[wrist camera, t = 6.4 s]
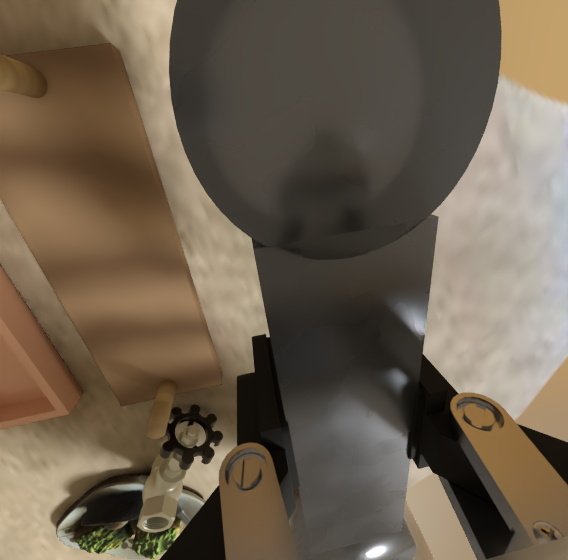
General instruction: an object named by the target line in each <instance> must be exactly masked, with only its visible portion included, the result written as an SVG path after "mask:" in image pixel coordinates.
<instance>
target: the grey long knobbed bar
mask: <svg viewBox="0 0 568 560" xmlns="http://www.w3.org/2000/svg"><path fill="white" fill-rule="evenodd" d="M500 60H501V21H500V7H499V1H498V0H177V3H176V7H175V10H174V17H173V24H172V31H171V38H170V58H169V76H170V88H171V99H172V105H173V110H174V115H175V120H176V125H177V129H178V132H179V135H180V138H181V141H182V144H183V147H184V150H185V153H186V155H187V157H188V160H189V162H190V164H191V166H192V168H193V171H194V173H195V175H196V176H197V178H198V180H199V181H200V183H201V185H202V186H203V188H204V190H205V191H206V193H207V194H208V196H209V197H210V198H211V199H212V201H213V202H214V203H215V205H216V206H217V207H218V208H219V210H220V211H221V212H222V213H223V214H224V215H225V216H226V217H227V218H228V219H229V220H230V221H231V222H232V223H233V224H234V225H235V226H237V227H238V228H239V229H241V230H242V231H243V232H244V233H246V234H247V235H248V236H250V237H251V238H252V243H253V249H254V254H255V260H256V265H257V270H258V275H259V281H260V286H261V291H262V297H263V302H264V307H265V313H266V318H267V323H268V328H269V334H270V339H271V344H272V350H273V355H274V360H275V366H276V371H277V376H278V381H279V387H280V392H281V397H282V403H283V408H284V413H285V419H286V422H287V421H288V424H289V430H290V435H291V440H292V446H293V451H294V457H295V462H296V468H297V473H298V479H299V484H300V487H296V488H293V489H294V495H295V504H296V508H295V510H294V512H293V513H292V515H291V517H290V519H289V524H290V528H291V531H292V535H293V539H294V543H295V546H296V550H297V554H298V558H299V560H412V559H413V557H414V555H415V553H416V544H415V542H414V539H413V537H412V535H411V533H410V531H409V528H408V526H407V524H406V522H405V519H404V517H403V515H404V507H405V498H406V490H407V481H408V473H409V464H410V459H408V454H409V445H410V436H411V427H412V418H413V409H414V400H415V392H418V387H419V379H420V370H421V362H422V353H423V344H424V336H425V327H426V319H427V310H428V302H429V293H430V285H431V276H432V268H433V259H434V250H435V242H436V233H437V225H438V217H437V216H435V215H432V213H433V212H434V211H435V210H436V208H437V207H438V206H439V205H440V204H441V203H442V202H443V201H444V200H445V198H446V197H447V196H448V195H449V194H450V192H451V191H452V190H453V189H454V187H455V186H456V184H457V183H458V181H459V180H460V178H461V177H462V175H463V174H464V172H465V171H466V169H467V167H468V165H469V163H470V161H471V160H472V158H473V156H474V154H475V152H476V150H477V148H478V145H479V143H480V141H481V138H482V136H483V134H484V131H485V129H486V125H487V122H488V119H489V116H490V113H491V110H492V106H493V102H494V97H495V93H496V88H497V84H498V76H499V68H500Z"/></svg>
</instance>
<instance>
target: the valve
mask: <svg viewBox="0 0 568 560" xmlns="http://www.w3.org/2000/svg"><path fill="white" fill-rule="evenodd" d="M199 412H200V407H199V406H198V405H192V406H191V407H190V409H189V412H188V413H186V414H184V413H182V410H181V409H180V408H179V407H174V408H172V410H171V413H170V417H169V420H171V419H172V418H173V420H174V421H173V422H172V423H170V424H169V423H168V425H167V429H166V433H165V435H167V436H168V441H167V442H165V443H164V444H163V446H162V448H161V450H160V453H158V454H157V456H156V458H155V460H154V462H153V466H152V470H151V473H150V475H149V477H148V479H147V480H146V482H145V485H144V488H143V493H142V499H143V504H144V505H143V507H142V509H141V512H140V516H139V520H138V524H137V527H139V528H140V529H141V530H143V531H146V532H161V531H164V530H166V529H168V528H170V527H171V526H172V524H173V522H174V520H175V516H176V510H177V504H178V500H179V498H180V496H181V493H182V488H183V478H184V477H185V474H186V471H187V469H189V468H190V466H191V464H192V463H193V461H194V457H195V456H202V458H203V459H202V461H201V462H202V463H204V464H208V463H210V462H211V460H212V458H213V456H214V450H213V449H212V448H211V447H210V446H209V445H210V443H212V442H213V443H215V444H214V446H218V445H219V444H220V442H221V440H222V438H223V434H222V433H221V432H220V431H215V432H214V431H213V430H212V427H213V426H214V424H215V422H216V420H217V417H216V416H215V415H214V414H209V415H208V416H207V417H202V416H201V415H200V414H199ZM184 421H188V424H187V427H185V428H184V429H183V431H182V432H181V433H180V435H179V437H178V439H176V436H175V428H176V427H177V425H179V424H180V423H182V422H184ZM194 422H196V423H198V424H200V425H201V426H202V427H203V429H204V430H205V433H206V441H205V443H204V444H202V445H201V446H199V447H197V446H196V444H197V442H198V437H199V429H198V428H196V427H195V426H193V423H194Z"/></svg>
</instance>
